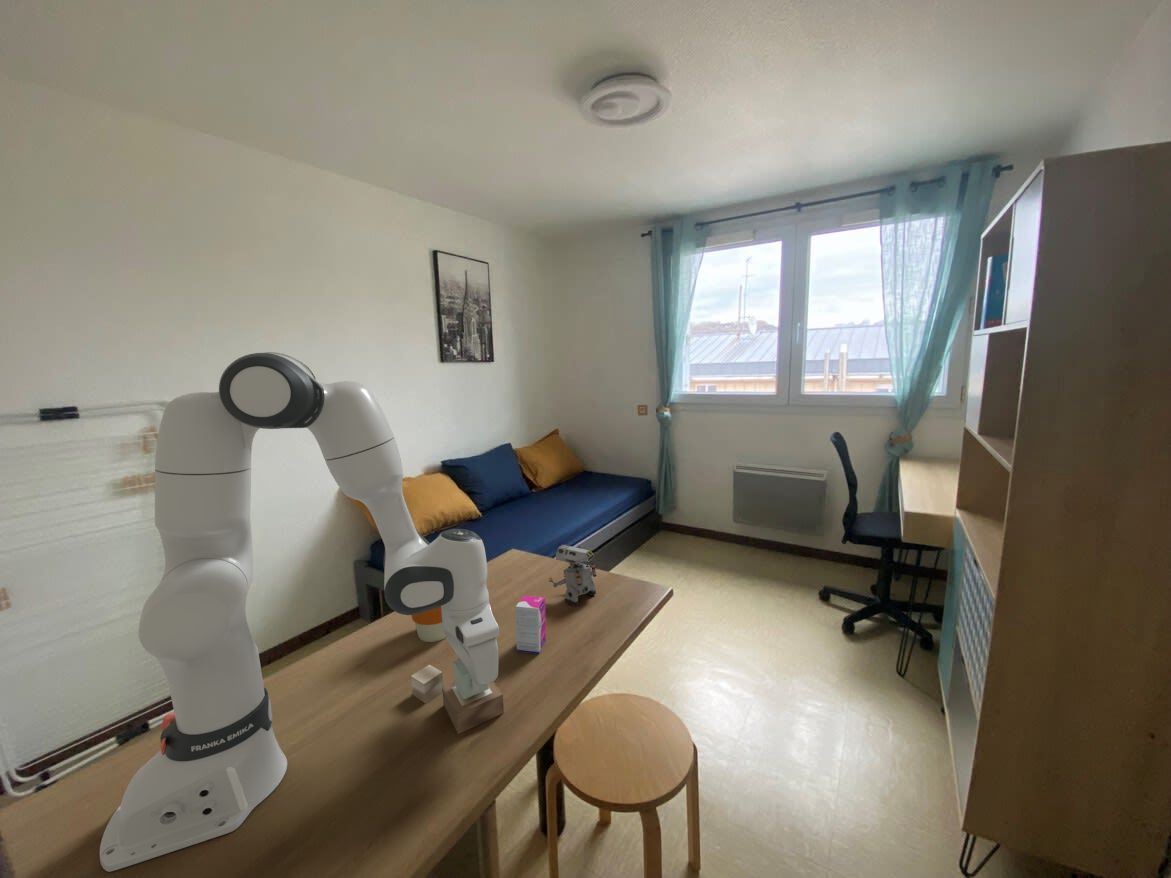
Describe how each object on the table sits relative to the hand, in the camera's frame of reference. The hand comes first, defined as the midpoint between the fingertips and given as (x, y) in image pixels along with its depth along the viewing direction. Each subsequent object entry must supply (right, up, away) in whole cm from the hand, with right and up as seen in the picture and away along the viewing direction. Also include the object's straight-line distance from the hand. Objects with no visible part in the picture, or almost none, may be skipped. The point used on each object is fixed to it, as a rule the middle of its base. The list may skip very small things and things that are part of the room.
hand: (470, 679), depth 91 cm
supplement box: (+9, -3, +21) cm, 24 cm away
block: (-10, -6, +6) cm, 13 cm away
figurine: (+19, +1, +44) cm, 48 cm away
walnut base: (0, -6, +1) cm, 7 cm away
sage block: (0, -2, 0) cm, 2 cm away
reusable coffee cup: (-16, -3, +29) cm, 33 cm away
